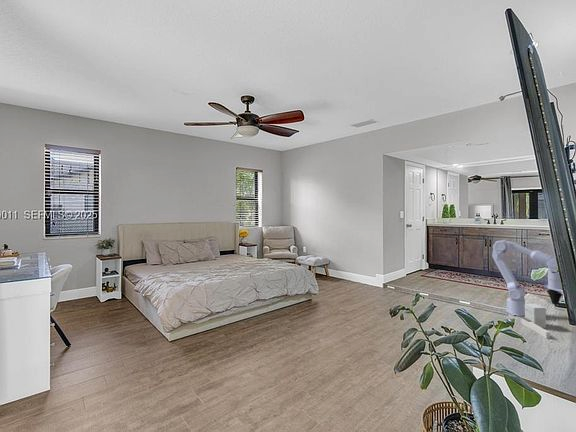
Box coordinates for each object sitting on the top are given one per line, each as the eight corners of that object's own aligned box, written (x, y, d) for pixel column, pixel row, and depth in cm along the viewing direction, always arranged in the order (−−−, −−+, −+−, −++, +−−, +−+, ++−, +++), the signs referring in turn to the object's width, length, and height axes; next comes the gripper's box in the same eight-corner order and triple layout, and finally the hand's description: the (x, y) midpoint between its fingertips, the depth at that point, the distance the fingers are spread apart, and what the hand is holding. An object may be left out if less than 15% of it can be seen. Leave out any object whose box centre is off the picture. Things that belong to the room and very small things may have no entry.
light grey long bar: (520, 322, 165) (519, 316, 165) (523, 322, 165) (522, 316, 165) (546, 338, 144) (546, 331, 144) (550, 338, 144) (549, 331, 144)
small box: (546, 328, 156) (546, 308, 156) (534, 328, 157) (534, 307, 157) (536, 322, 164) (535, 303, 164) (524, 322, 165) (524, 303, 165)
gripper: (573, 282, 157) (573, 308, 157) (553, 276, 172) (554, 300, 172) (558, 282, 158) (558, 308, 158) (539, 276, 173) (540, 300, 173)
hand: (555, 304), depth 165 cm, fingers closed
